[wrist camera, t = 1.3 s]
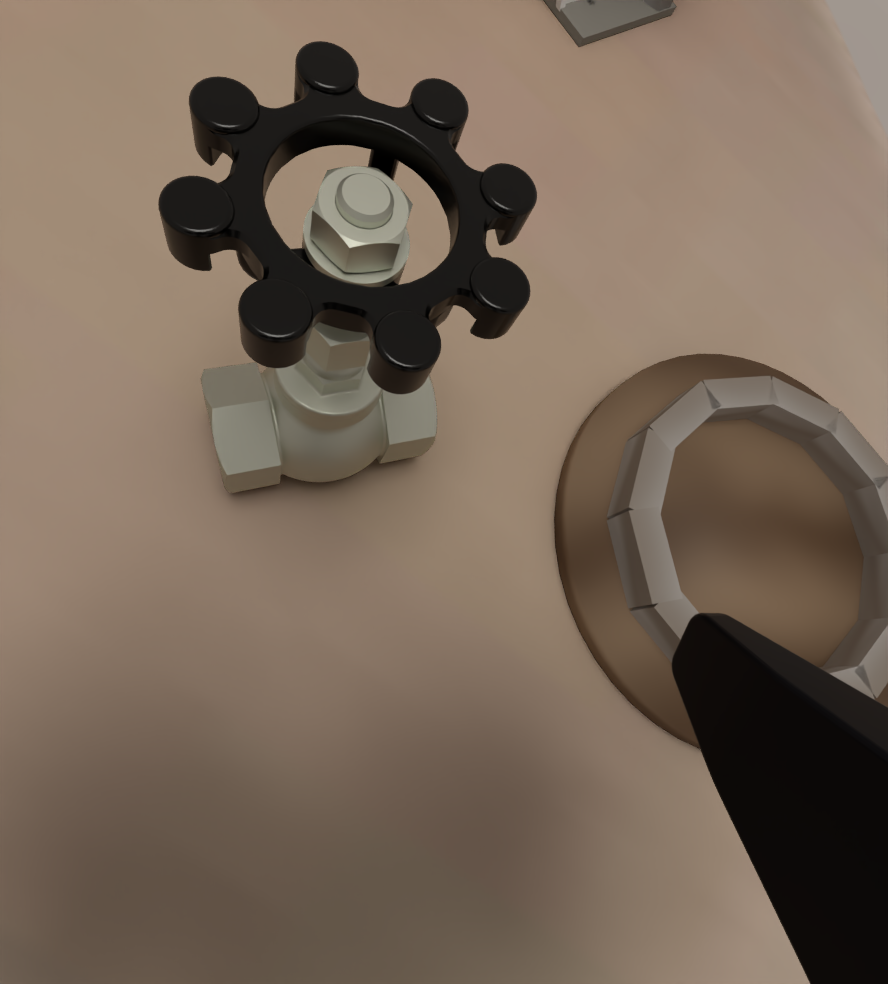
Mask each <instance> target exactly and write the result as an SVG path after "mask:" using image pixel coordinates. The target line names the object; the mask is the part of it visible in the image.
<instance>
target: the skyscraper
mask: <svg viewBox="0 0 888 984" xmlns="http://www.w3.org/2000/svg"><path fill="white" fill-rule="evenodd" d="M544 1H545V3H546V4H547V5H548V6H549V8H550V9H551V10H552V12H553V13H554V14H555V16H556V17H557V18H558V20H559V21H560V22H561V24H562V25H563V26H564V28H565V29H566V30H567V32H568V33H569V34H570V36H571V37H572V38H573V39H574V41H575V42H576V43H577V45H578V46H582V45H585V44H588V43H591V42H594V41H597V40H600V39H603V38H606V37H608V36H611V35H614V34H617V33H620V32H623V31H626V30H629V29H632V28H635V27H637V26H640V25H643V24H646V23H649V22H652V21H655V20H658V19H661V18H664V17H666V16H669V15H672V13H673V12H674V10H675V8H676V7H677V6H676V5H675V4H674V3H673V0H544Z"/></svg>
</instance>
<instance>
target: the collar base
mask: <svg viewBox="0 0 888 984" xmlns="http://www.w3.org/2000/svg"><path fill="white" fill-rule="evenodd" d="M555 543H556V552H557V558H558V564H559V571H560V576H561V580H562V583H563V587H564V590H565V594H566V597H567V601H568V604H569V606H570V609H571V611H572V614H573V616H574V618H575V621H576V623H577V626H578V628H579V631H580V632H581V634H582V636H583V638H584V640H585V642H586V643H587V645H588V647H589V649H590V651H591V652H592V654H593V656H594V658H595V659H596V660H597V662H598V663H599V665H600V666H601V667H602V669H603V670H604V672H605V673H606V674H607V676H608V677H609V679H610V680H611V681H612V683H613V684H614V685H615V686H616V687H617V688H618V689H619V690H620V691H621V692H622V694H623V695H624V696H625V697H626V698H627V699H628V700H629V701H630V702H631V703H632V704H633V705H634V706H635V707H636V708H637V709H638V710H640V711H641V712H642V713H643V714H644V715H646V716H647V717H648V718H649V719H650V720H651V721H653V722H654V723H655V724H657V725H658V726H660V727H661V728H663V729H664V730H666V731H667V732H669V733H670V734H672V735H674V736H675V737H677V738H678V739H680V740H682V741H685V742H687V743H689V744H691V745H693V746H695V747H697V748H700V746H699V744H698V741H697V738H696V736H695V733H694V730H693V728H692V725H691V722H690V720H689V717H688V714H687V712H686V709H685V706H684V704H683V701H682V698H681V696H680V693H679V690H678V688H677V685H676V682H675V680H674V677H673V673H672V657H673V655H674V652H675V650H676V648H677V646H678V644H679V642H680V639H681V637H682V635H683V633H684V631H685V629H686V627H687V624H688V622H689V621H690V619H691V618H692V617H693V616H694V615H695V614H698V613H723V614H726V615H729V616H730V617H732V618H734V619H736V620H737V621H739V622H741V623H743V624H744V625H746V626H748V627H750V628H751V629H753V630H755V631H756V632H758V633H760V634H762V635H763V636H765V637H767V638H769V639H770V640H772V641H774V642H776V643H777V644H779V645H781V646H782V647H784V648H786V649H788V650H789V651H791V652H793V653H795V654H796V655H798V656H800V657H802V658H803V659H805V660H807V661H808V662H810V663H812V664H814V665H815V666H817V667H819V668H821V669H822V670H824V671H826V672H828V673H829V674H831V675H833V676H834V677H836V678H838V679H840V680H841V681H843V682H845V683H847V684H848V685H850V686H852V687H854V688H855V689H857V690H859V691H860V692H862V693H864V694H866V695H867V696H869V697H871V698H873V699H874V700H876V701H878V702H880V703H881V704H883V705H885V706H886V707H888V465H887V464H886V463H885V462H884V460H883V459H882V458H881V457H880V456H879V455H878V453H877V452H876V451H875V450H874V449H873V448H872V446H871V445H870V444H869V443H868V442H867V441H866V439H865V438H864V437H863V436H862V435H861V434H860V432H859V431H858V430H857V429H856V428H855V427H854V425H853V424H852V423H851V422H850V421H849V419H848V418H847V417H846V416H845V415H844V414H843V412H842V411H840V412H839V409H838V408H836V407H834V406H832V405H830V404H829V403H828V402H827V401H825V400H824V399H823V398H822V397H821V396H819V395H818V394H816V393H815V392H814V391H812V390H811V389H809V388H808V387H807V386H805V385H804V384H802V383H800V382H799V381H797V380H795V379H793V378H792V377H790V376H788V375H786V374H785V373H783V372H780V371H778V370H776V369H773V368H771V367H769V366H767V365H764V364H761V363H758V362H755V361H751V360H748V359H744V358H740V357H734V356H728V355H722V354H695V355H687V356H679V357H676V358H672V359H669V360H665V361H662V362H659V363H657V364H654V365H652V366H650V367H648V368H646V369H644V370H642V371H640V372H638V373H637V374H635V375H634V376H633V377H631V378H630V379H628V380H627V381H625V382H624V383H622V384H621V385H620V386H619V387H618V388H616V389H615V390H614V391H613V392H611V393H610V394H609V395H608V396H607V397H606V398H605V399H604V400H603V401H602V402H601V403H600V404H599V405H598V406H596V407H595V409H594V410H593V411H592V413H591V414H590V415H589V416H588V418H587V419H586V420H585V422H584V423H583V424H582V426H581V428H580V429H579V431H578V433H577V435H576V437H575V438H574V440H573V442H572V444H571V446H570V449H569V451H568V454H567V457H566V459H565V462H564V465H563V467H562V472H561V476H560V481H559V485H558V490H557V497H556V508H555Z"/></svg>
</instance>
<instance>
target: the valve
mask: <svg viewBox="0 0 888 984" xmlns="http://www.w3.org/2000/svg"><path fill="white" fill-rule="evenodd" d="M358 78H359V71H358V67H357V65H356V62H355V60H354V59H353V58H352V56H351V55H350V54H349V53H348V52H347V51H346V50H344V49H343V48H341V47H339V46H337V45H335V44H332V43H329V42H322V41H318V42H311V43H309V44H306V45H305V46H303V47H302V48H301V49H300V50H299V52H298V54H297V56H296V64H295V87H294V103H291V104H289V105H286V106H283V107H281V108H267V107H264V106H262V105H260V104H258V101H257V99H256V97H255V96H254V94H253V93H252V91H250V90H249V89H248V88H247V87H246V86H245V85H243V84H242V83H240V82H238V81H236V80H234V79H230V78H226V77H209V78H206V79H203V80H201V81H200V82H198V83H197V84H196V85H195V86H194V87H193V89H192V90H191V92H190V96H189V106H190V114H191V121H192V128H193V135H194V141H195V147H196V150H197V152H198V154H199V155H200V157H201V158H202V159H203V160H204V161H205V162H206V163H208V164H209V165H210V166H212V165H214V164H215V162H216V161H217V159H218V158H219V156H220V155H221V154H222V153H225V154H227V155H228V156H229V157H230V158H231V159H232V160H233V163H232V166H231V170H230V174H229V176H228V177H227V178H226V179H225V180H224V181H222V182H219V183H216V182H214V181H212V180H210V179H208V178H204V177H200V176H185V177H180V178H177V179H175V180H173V181H171V182H170V183H168V184H167V185H166V186H165V187H164V188H163V190H162V192H161V194H160V197H159V204H158V205H159V211H160V216H161V220H162V224H163V228H164V232H165V236H166V241H167V245H168V248H169V250H170V252H171V254H172V255H173V256H174V257H175V259H177V260H178V261H179V262H180V263H182V264H183V265H185V266H187V267H189V268H192V269H195V270H200V271H210V270H211V268H212V266H211V259H210V254H213V253H217V252H219V251H222V250H236V253H237V257H238V261H239V264H240V265H241V267H242V269H243V270H244V271H245V272H246V273H247V274H248V275H249V276H251V277H252V278H254V279H256V280H257V281H256V282H254V283H253V284H251V285H250V286H249V287H248V288H246V290H245V291H244V292H243V293H242V296H241V298H240V301H239V305H238V311H239V323H240V334H241V342H242V345H243V348H244V350H245V351H246V353H247V354H248V355H249V356H250V357H251V358H252V359H253V360H254V361H256V362H257V363H259V364H261V365H263V366H266V367H268V368H266V369H265V370H264V371H263V372H262V373H260V372H259V369H258V366H257V363H249V364H241V365H234V366H226V367H219V368H211V369H204V371H203V373H202V376H201V384H202V389H203V393H204V398H205V403H206V407H207V412H208V416H209V421H210V425H211V430H212V434H213V439H214V443H215V448H216V452H217V457H218V461H219V466H220V470H221V475H222V479H223V483H224V487H225V489H226V490H227V491H229V492H230V493H235V492H240V491H245V490H250V489H255V488H260V487H265V486H270V485H275V484H280V475H281V474H284V475H286V476H288V477H291V478H294V479H298V480H302V481H308V482H329V481H335V480H339V479H343V478H346V477H349V476H351V475H353V474H355V473H357V472H359V471H361V470H362V469H364V468H365V467H367V466H368V465H369V464H370V463H372V462H373V461H374V460H375V459H376V458H377V460H378V462H379V464H381V463H386V462H391V461H396V460H401V459H406V458H411V457H417V456H422V455H423V454H424V453H425V452H426V451H428V450H429V448H430V447H431V446H432V445H433V443H434V441H435V437H436V431H437V408H436V400H435V394H434V389H433V384H432V381H431V377H430V372H431V370H432V368H433V367H434V365H435V363H436V361H437V359H438V357H439V355H440V351H441V339H440V335H439V333H438V330H437V329H436V327H437V326H439V325H440V324H441V323H442V322H443V321H445V319H446V318H447V316H448V315H449V313H450V311H451V309H452V307H453V305H457V306H461V307H463V308H465V309H466V310H467V311H468V312H469V313H470V314H471V315H472V316H473V317H474V318H475V319H477V320H476V321H475V323H474V325H473V326H472V328H471V330H470V332H471V334H473V335H475V336H477V337H480V338H484V339H495V338H498V337H500V336H502V335H504V334H505V333H506V332H507V331H508V330H509V329H510V327H511V326H512V324H513V323H514V322H515V320H516V319H517V317H518V316H519V314H520V313H521V312H522V310H523V309H524V307H525V306H526V304H527V303H528V301H529V297H530V285H529V281H528V279H527V277H526V275H525V274H524V272H523V271H522V270H521V269H520V268H519V267H518V266H517V265H516V264H514V263H513V262H511V261H509V260H506V259H503V258H498V257H491V256H490V255H489V253H488V251H487V249H486V233H487V231H488V230H491V229H495V231H496V235H497V240H498V243H499V245H500V246H501V245H506V244H508V243H511V242H512V241H513V240H514V239H515V238H516V237H517V236H518V234H519V232H520V230H521V229H522V227H523V225H524V223H525V222H526V220H527V218H528V216H529V215H530V213H531V211H532V209H533V208H534V206H535V204H536V200H537V191H536V187H535V185H534V183H533V181H532V179H531V178H530V177H529V176H528V175H527V174H526V173H525V172H524V171H523V170H521V169H520V168H518V167H516V166H514V165H510V164H504V163H500V164H495V165H492V166H490V167H488V168H487V169H486V170H485V171H484V172H480V171H476V170H474V169H472V168H470V167H469V166H468V165H466V163H465V162H464V161H463V160H462V158H461V157H460V156H459V155H458V153H457V152H456V148H457V145H458V142H459V139H460V137H461V134H462V131H463V128H464V125H465V123H466V120H467V117H468V111H469V110H468V104H467V101H466V99H465V97H464V95H463V94H462V92H461V91H460V90H459V89H458V88H457V87H455V86H454V85H452V84H451V83H449V82H447V81H445V80H441V79H435V78H431V79H425V80H422V81H420V82H419V83H417V84H416V85H415V87H414V88H413V90H412V92H411V96H410V99H409V102H408V103H407V104H406V105H405V106H403V107H399V108H397V107H391V106H388V105H385V104H382V103H379V102H375V101H372V100H370V99H368V98H366V97H365V96H363V95H362V93H361V92H360V90H359V88H358ZM330 145H353V146H358V147H363V148H367V149H371V153H370V158H369V164H368V167H363V166H351V167H341V168H336V169H331V170H327V173H326V175H325V177H324V179H323V182H322V184H321V187H320V189H319V192H318V195H317V198H316V201H315V203H314V205H313V206H312V207H311V208H310V210H309V211H308V213H307V215H306V218H305V221H304V227H303V242H302V248H298V249H290V248H289V247H288V246H287V245H286V244H285V243H284V241H283V240H282V238H281V237H280V235H279V234H278V232H277V231H276V229H275V228H274V226H273V225H272V222H271V220H270V217H269V215H268V212H267V209H266V207H265V196H266V192H267V189H268V187H269V185H270V182H271V181H272V179H273V178H274V176H275V174H276V173H277V172H278V171H279V170H280V168H281V167H283V166H284V165H285V164H287V163H288V162H289V161H290V160H292V159H293V158H294V157H295V156H298V155H300V154H302V153H305V152H307V151H309V150H311V149H314V148H318V147H322V146H330ZM399 161H400V162H401V163H403V164H404V165H406V166H408V167H409V168H411V169H412V170H413V171H415V172H416V173H417V174H418V175H419V176H420V177H421V178H422V179H423V180H424V181H425V182H426V183H427V184H428V185H429V186H430V187H431V189H432V190H433V191H434V192H435V194H436V196H437V197H438V199H439V200H440V203H441V205H442V207H443V209H444V211H445V214H446V216H447V220H448V225H449V230H450V250H449V254H448V256H447V257H446V258H445V260H444V261H443V262H442V263H441V264H440V265H439V266H438V267H437V268H436V269H435V270H433V271H432V272H430V273H429V274H427V275H426V276H424V277H422V278H420V279H417V280H415V281H413V282H410V283H406V284H401V285H398V284H399V281H400V278H401V275H402V273H403V270H404V267H405V264H406V261H407V258H408V255H409V250H410V240H409V235H408V232H407V229H406V224H407V221H408V218H409V214H410V211H411V208H412V205H413V204H412V203H411V201H410V200H409V198H408V197H407V196H406V195H405V193H404V192H403V191H402V190H401V189H400V187H399V186H398V185H397V184H396V183H395V182H394V177H395V174H396V170H397V166H398V163H399Z"/></svg>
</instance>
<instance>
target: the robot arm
mask: <svg viewBox="0 0 888 984" xmlns="http://www.w3.org/2000/svg"><path fill="white" fill-rule="evenodd" d="M672 673H673V677H674V680H675V682H676V685H677V688H678V690H679V693H680V696H681V698H682V701H683V704H684V706H685V709H686V712H687V714H688V717H689V720H690V722H691V725H692V728H693V730H694V733H695V736H696V738H697V741H698V744H699V746H700V749H701V752H702V754H703V757H704V760H705V762H706V765H707V767H708V770H709V772H710V775H711V777H712V780H713V782H714V784H715V786H716V788H717V791H718V793H719V795H720V797H721V799H722V801H723V804H724V806H725V808H726V810H727V812H728V814H729V816H730V818H731V820H732V822H733V824H734V826H735V828H736V831H737V833H738V835H739V837H740V839H741V841H742V843H743V845H744V847H745V849H746V851H747V853H748V855H749V857H750V860H751V862H752V864H753V866H754V868H755V870H756V872H757V874H758V876H759V878H760V880H761V882H762V884H763V887H764V889H765V891H766V893H767V895H768V897H769V899H770V901H771V903H772V905H773V907H774V909H775V911H776V913H777V916H778V918H779V920H780V922H781V924H782V926H783V928H784V930H785V932H786V934H787V936H788V938H789V940H790V943H791V945H792V947H793V949H794V951H795V953H796V955H797V957H798V959H799V961H800V963H801V965H802V967H803V969H804V972H805V974H806V976H807V978H808V980H809V982H810V984H888V707H886V706H885V705H883V704H881V703H880V702H878V701H876V700H874V699H873V698H871V697H869V696H867V695H866V694H864V693H862V692H860V691H859V690H857V689H855V688H854V687H852V686H850V685H848V684H847V683H845V682H843V681H841V680H840V679H838V678H836V677H834V676H833V675H831V674H829V673H828V672H826V671H824V670H822V669H821V668H819V667H817V666H815V665H814V664H812V663H810V662H808V661H807V660H805V659H803V658H802V657H800V656H798V655H796V654H795V653H793V652H791V651H789V650H788V649H786V648H784V647H782V646H781V645H779V644H777V643H776V642H774V641H772V640H770V639H769V638H767V637H765V636H763V635H762V634H760V633H758V632H756V631H755V630H753V629H751V628H750V627H748V626H746V625H744V624H743V623H741V622H739V621H737V620H736V619H734V618H732V617H730V616H729V615H726V614H723V613H698V614H695V615H694V616H693V617H692V618H691V619H690V621H689V622H688V624H687V627H686V629H685V631H684V633H683V635H682V637H681V639H680V642H679V644H678V646H677V648H676V650H675V652H674V655H673V657H672Z"/></svg>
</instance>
